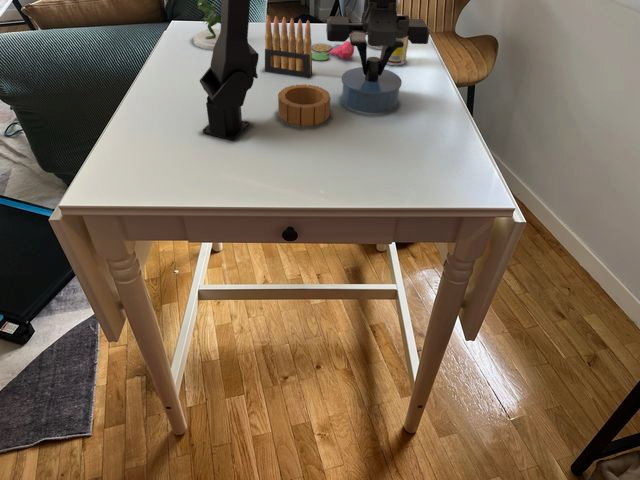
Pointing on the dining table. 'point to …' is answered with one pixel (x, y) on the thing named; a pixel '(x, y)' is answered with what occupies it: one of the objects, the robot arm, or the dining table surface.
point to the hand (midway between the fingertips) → (372, 74)
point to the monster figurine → (208, 36)
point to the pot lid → (371, 79)
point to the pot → (369, 101)
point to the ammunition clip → (288, 49)
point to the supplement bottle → (399, 54)
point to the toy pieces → (333, 51)
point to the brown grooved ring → (304, 105)
